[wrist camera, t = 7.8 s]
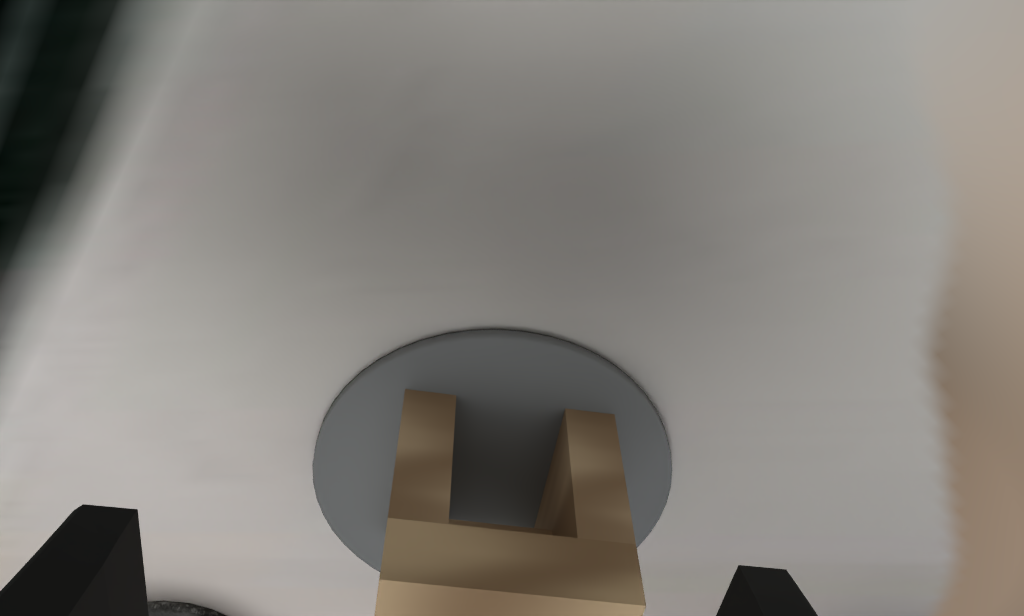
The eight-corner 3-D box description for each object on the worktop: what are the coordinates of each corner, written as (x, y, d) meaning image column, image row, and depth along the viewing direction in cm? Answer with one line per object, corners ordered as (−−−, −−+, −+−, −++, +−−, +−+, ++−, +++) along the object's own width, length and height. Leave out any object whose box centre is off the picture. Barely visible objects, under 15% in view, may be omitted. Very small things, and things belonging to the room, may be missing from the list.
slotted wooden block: (614, 414, 22) (646, 605, 17) (572, 554, 24) (589, 753, 20) (404, 388, 21) (379, 579, 16) (386, 535, 24) (359, 734, 19)
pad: (712, 355, 21) (716, 365, 21) (623, 603, 26) (625, 614, 26) (324, 306, 20) (321, 316, 20) (308, 572, 25) (305, 584, 25)
